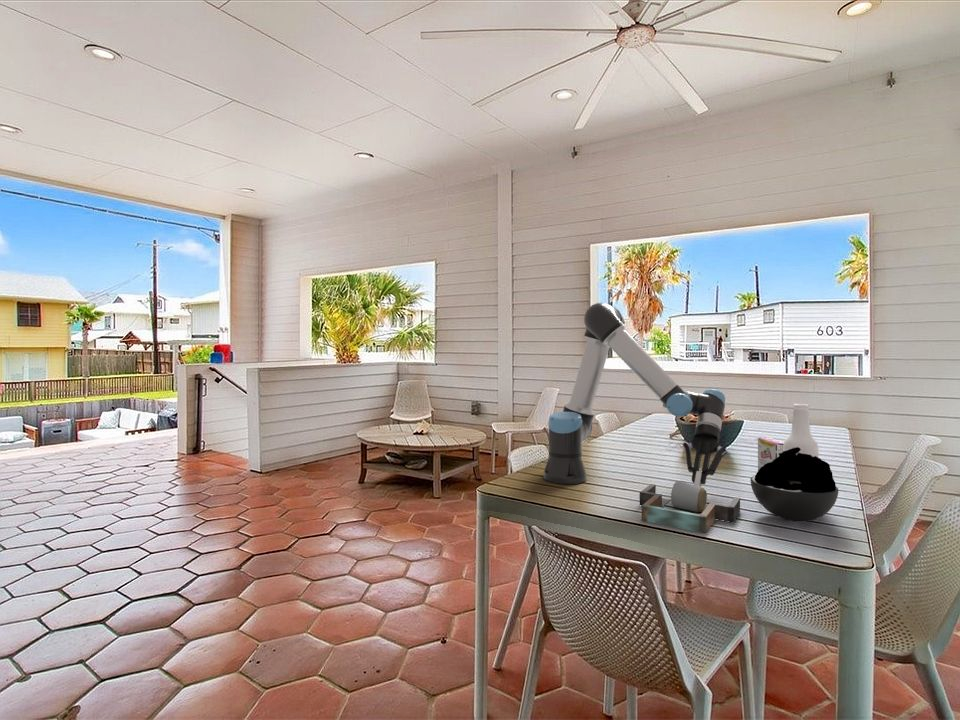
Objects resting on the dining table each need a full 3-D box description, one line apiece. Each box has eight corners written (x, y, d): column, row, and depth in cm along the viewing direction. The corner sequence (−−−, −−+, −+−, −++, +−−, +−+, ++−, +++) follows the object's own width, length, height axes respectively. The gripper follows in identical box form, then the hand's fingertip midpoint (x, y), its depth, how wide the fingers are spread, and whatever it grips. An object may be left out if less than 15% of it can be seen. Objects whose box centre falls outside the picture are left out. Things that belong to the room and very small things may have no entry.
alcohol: (775, 500, 149) (776, 402, 149) (802, 499, 150) (803, 402, 150) (797, 509, 140) (798, 406, 140) (825, 508, 141) (826, 405, 141)
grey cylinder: (700, 516, 135) (700, 488, 135) (670, 509, 140) (670, 483, 140) (711, 507, 143) (711, 481, 143) (682, 502, 148) (682, 476, 148)
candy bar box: (756, 485, 167) (756, 437, 167) (771, 485, 167) (771, 437, 167) (775, 494, 156) (776, 443, 155) (791, 494, 156) (792, 443, 155)
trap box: (625, 517, 134) (625, 502, 134) (650, 496, 153) (650, 484, 153) (725, 537, 119) (725, 521, 119) (740, 511, 138) (740, 497, 138)
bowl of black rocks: (808, 538, 119) (808, 461, 118) (734, 514, 137) (734, 447, 136) (854, 526, 127) (855, 454, 127) (779, 504, 145) (780, 441, 145)
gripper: (730, 438, 160) (721, 502, 147) (688, 434, 168) (676, 494, 154) (728, 424, 156) (718, 488, 142) (685, 421, 163) (671, 481, 150)
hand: (696, 491), depth 148 cm, fingers closed
